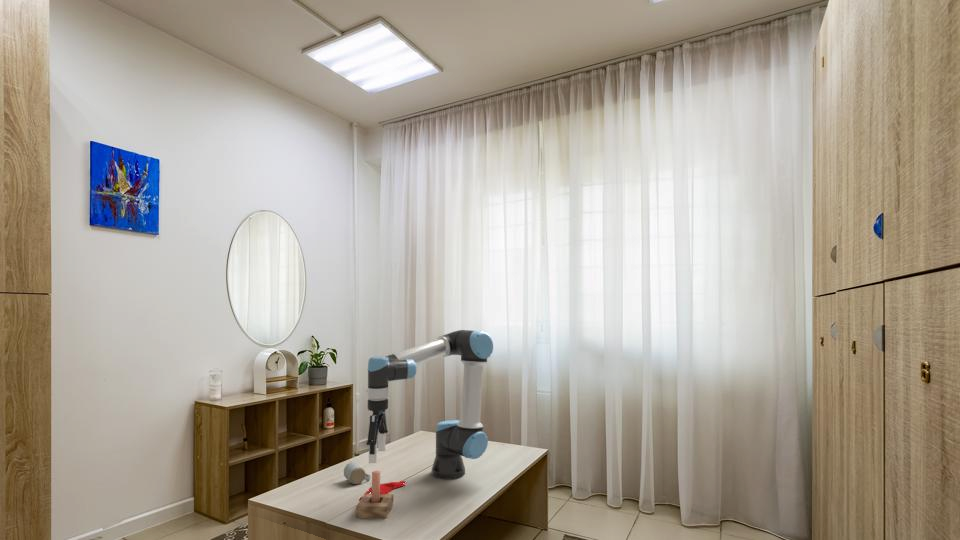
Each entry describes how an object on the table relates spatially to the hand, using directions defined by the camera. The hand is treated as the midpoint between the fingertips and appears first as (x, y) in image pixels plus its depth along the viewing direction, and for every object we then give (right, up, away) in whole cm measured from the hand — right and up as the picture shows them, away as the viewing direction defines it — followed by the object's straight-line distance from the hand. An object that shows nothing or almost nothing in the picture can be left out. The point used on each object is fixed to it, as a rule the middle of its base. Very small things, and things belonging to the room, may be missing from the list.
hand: (377, 456), depth 177 cm
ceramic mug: (-15, -22, +28) cm, 39 cm away
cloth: (-2, -22, +19) cm, 29 cm away
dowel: (0, -19, -2) cm, 20 cm away
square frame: (0, -19, -2) cm, 19 cm away
